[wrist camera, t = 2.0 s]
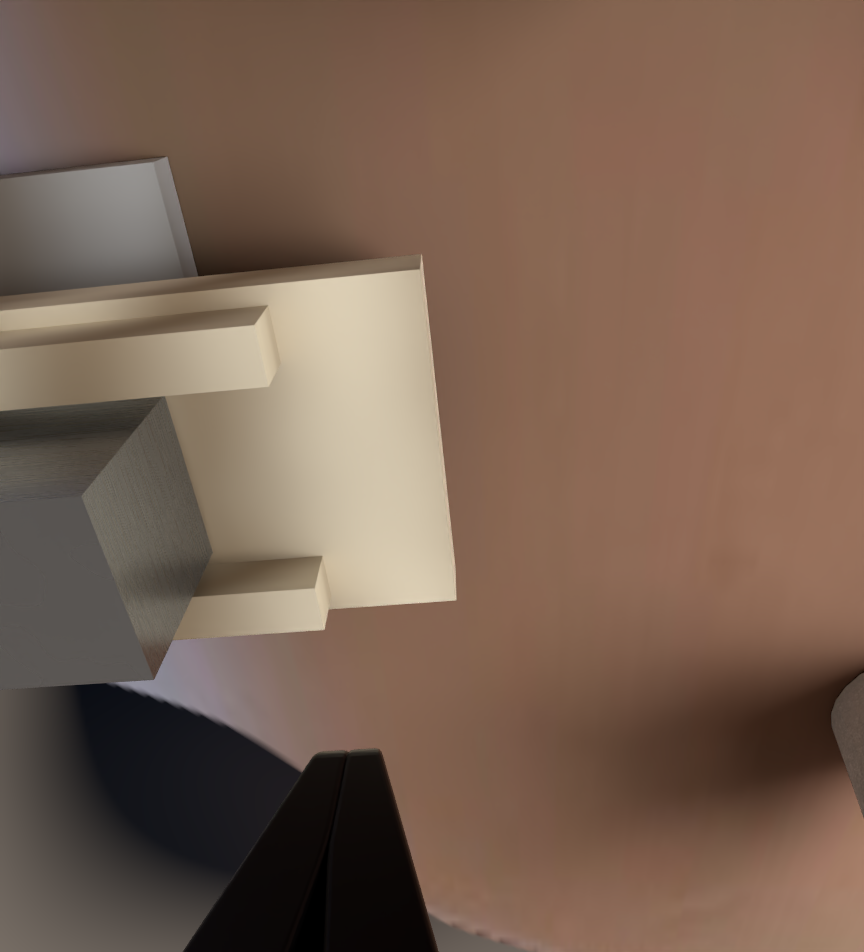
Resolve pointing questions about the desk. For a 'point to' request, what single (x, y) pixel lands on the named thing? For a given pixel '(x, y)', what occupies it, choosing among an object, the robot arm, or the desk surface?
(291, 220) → the desk surface
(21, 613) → the block
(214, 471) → the balance beam
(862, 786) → the house plant
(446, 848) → the desk surface
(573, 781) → the desk surface
